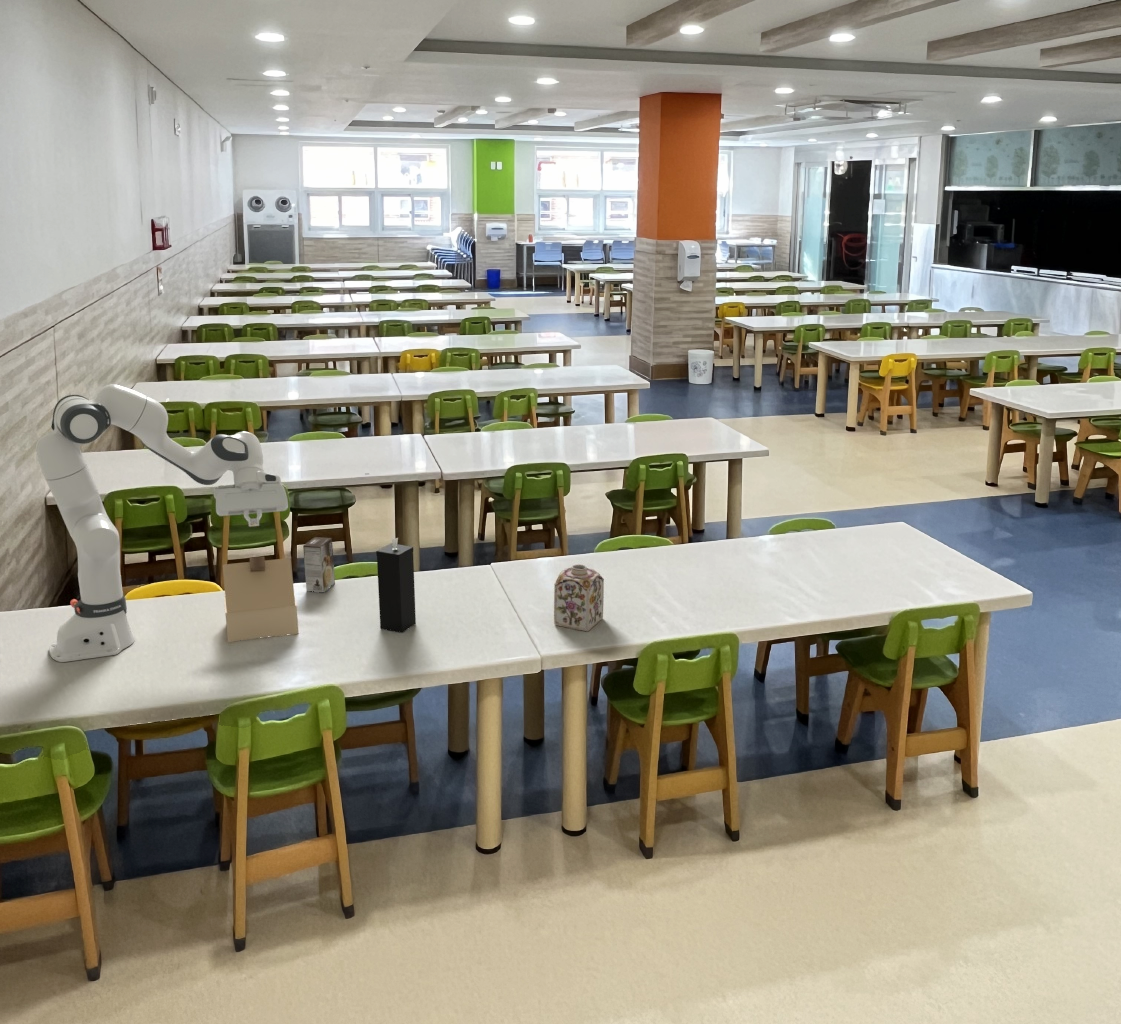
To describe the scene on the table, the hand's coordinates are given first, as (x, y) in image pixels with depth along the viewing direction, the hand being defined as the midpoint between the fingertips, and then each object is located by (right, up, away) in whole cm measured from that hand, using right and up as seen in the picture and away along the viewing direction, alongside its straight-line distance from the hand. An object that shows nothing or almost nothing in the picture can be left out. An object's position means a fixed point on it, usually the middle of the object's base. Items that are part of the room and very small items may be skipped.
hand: (254, 525), depth 310 cm
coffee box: (+9, -21, +44) cm, 50 cm away
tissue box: (+39, -31, +14) cm, 52 cm away
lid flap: (0, -18, +4) cm, 18 cm away
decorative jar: (+94, -30, +18) cm, 100 cm away
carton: (-1, -31, +12) cm, 33 cm away
